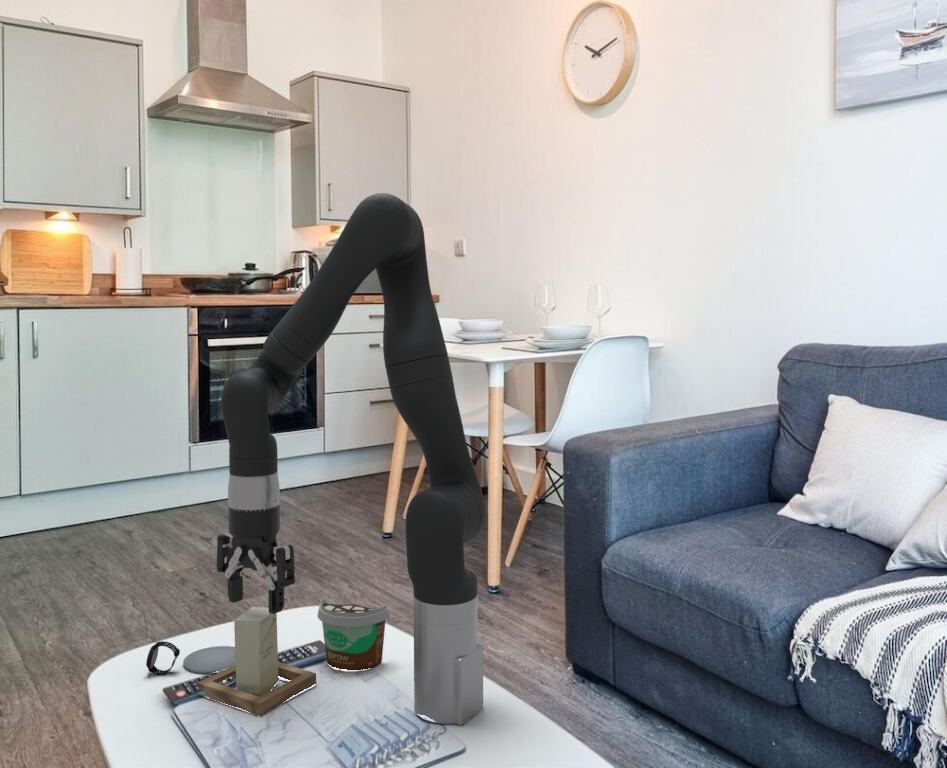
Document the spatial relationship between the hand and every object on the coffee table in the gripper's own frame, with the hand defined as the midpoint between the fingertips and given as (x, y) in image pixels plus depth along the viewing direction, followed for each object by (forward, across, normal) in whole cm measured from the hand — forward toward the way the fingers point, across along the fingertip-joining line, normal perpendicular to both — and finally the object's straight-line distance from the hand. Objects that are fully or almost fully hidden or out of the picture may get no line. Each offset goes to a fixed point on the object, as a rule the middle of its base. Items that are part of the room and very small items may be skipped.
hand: (255, 606), depth 131 cm
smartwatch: (+14, +17, +4) cm, 22 cm away
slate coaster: (+13, +14, -4) cm, 19 cm away
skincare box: (+13, 0, 0) cm, 13 cm away
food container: (+13, -6, -14) cm, 20 cm away
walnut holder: (+13, 0, 0) cm, 13 cm away
